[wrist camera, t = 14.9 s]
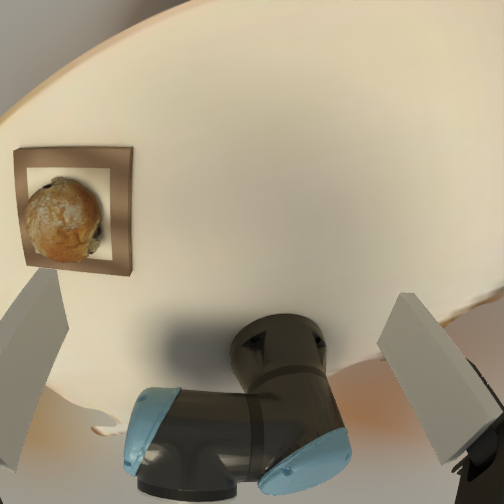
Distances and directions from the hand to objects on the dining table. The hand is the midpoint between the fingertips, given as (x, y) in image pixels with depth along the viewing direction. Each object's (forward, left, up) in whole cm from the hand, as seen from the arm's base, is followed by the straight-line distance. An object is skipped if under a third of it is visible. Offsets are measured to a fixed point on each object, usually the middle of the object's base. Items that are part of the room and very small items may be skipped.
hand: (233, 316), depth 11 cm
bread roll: (-7, +18, -25) cm, 32 cm away
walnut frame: (-7, +18, -27) cm, 33 cm away
